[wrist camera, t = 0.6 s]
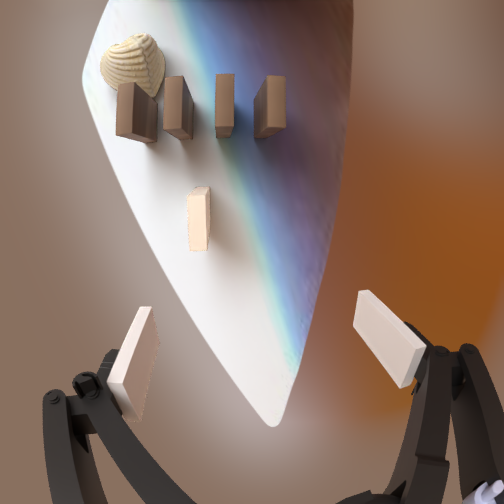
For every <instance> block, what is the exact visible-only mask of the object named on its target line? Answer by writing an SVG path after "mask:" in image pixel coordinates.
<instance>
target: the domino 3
mask: <svg viewBox="0 0 504 504" xmlns="http://www.w3.org/2000/svg"><path fill="white" fill-rule="evenodd" d="M187 212H188V232H189V248H190V251H207V249H208V241H209V234H210V227H211V225H210V187H196V188H195V189H194V190H193V191H192V192H191V193H189V194H188V195H187Z"/></svg>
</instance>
